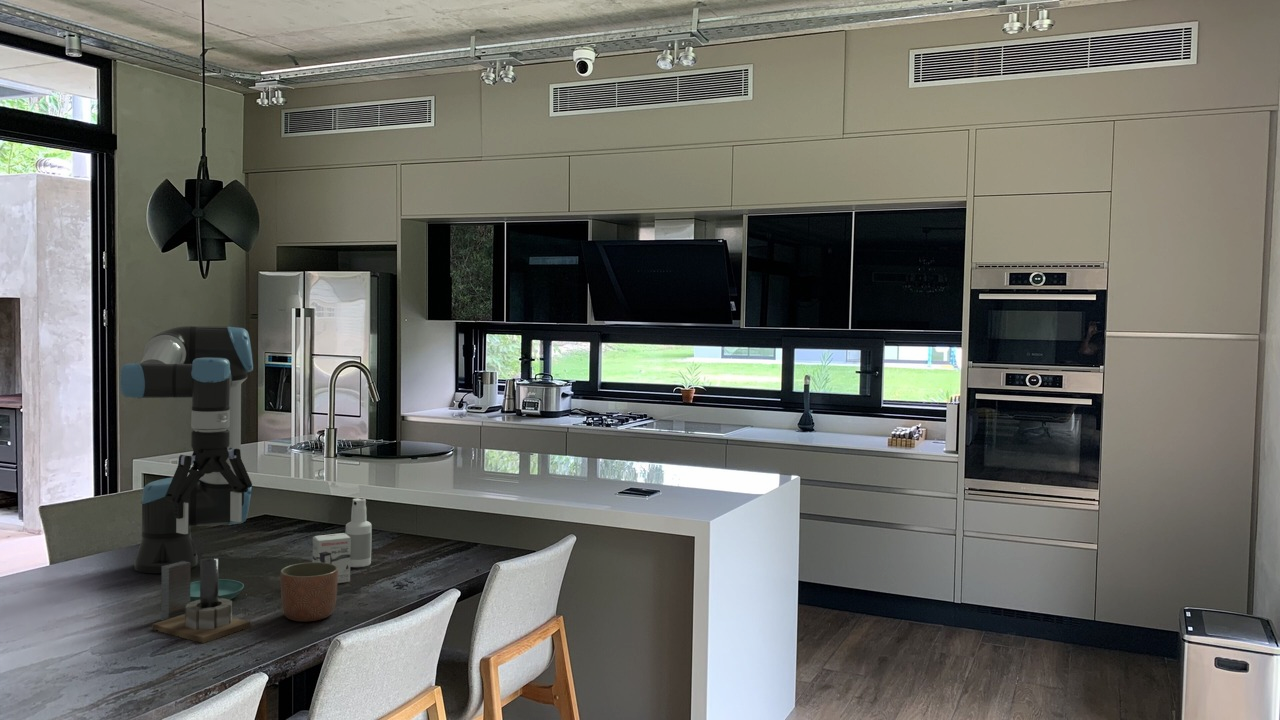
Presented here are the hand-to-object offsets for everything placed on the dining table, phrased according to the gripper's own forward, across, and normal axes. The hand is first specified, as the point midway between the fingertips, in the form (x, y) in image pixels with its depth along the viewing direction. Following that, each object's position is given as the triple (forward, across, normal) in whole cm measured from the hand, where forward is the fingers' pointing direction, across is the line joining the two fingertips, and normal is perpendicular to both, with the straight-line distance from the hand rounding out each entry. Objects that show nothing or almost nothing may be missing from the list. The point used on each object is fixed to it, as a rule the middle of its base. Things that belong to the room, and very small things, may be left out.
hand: (209, 527), depth 208 cm
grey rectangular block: (+22, +1, +12) cm, 25 cm away
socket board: (+22, -1, +1) cm, 22 cm away
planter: (+22, +17, -12) cm, 31 cm away
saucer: (+23, +15, +18) cm, 32 cm away
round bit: (+21, 0, 0) cm, 21 cm away
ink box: (+22, +40, +4) cm, 46 cm away
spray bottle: (+23, +56, +10) cm, 61 cm away
